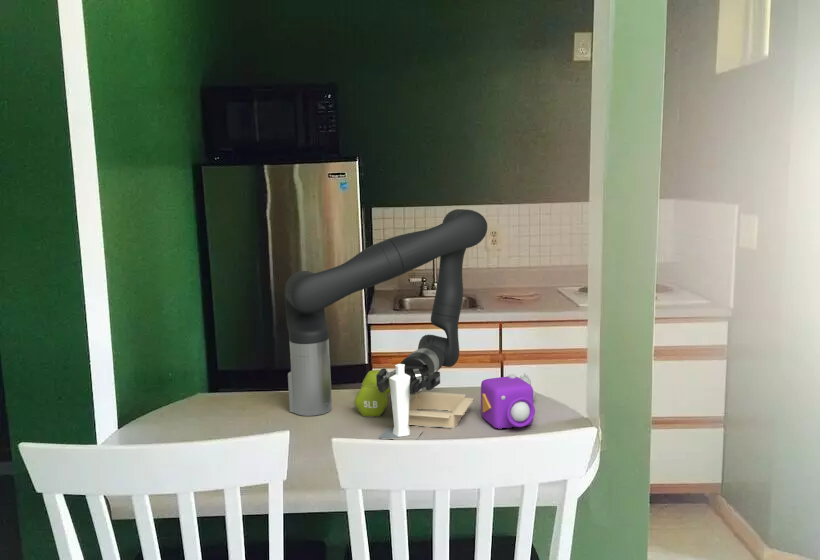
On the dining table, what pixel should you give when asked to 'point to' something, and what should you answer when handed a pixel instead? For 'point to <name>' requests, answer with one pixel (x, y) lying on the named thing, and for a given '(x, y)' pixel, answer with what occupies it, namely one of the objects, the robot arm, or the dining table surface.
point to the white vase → (400, 400)
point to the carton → (440, 402)
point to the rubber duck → (526, 379)
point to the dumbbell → (371, 396)
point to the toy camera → (507, 402)
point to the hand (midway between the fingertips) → (396, 388)
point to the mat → (389, 433)
